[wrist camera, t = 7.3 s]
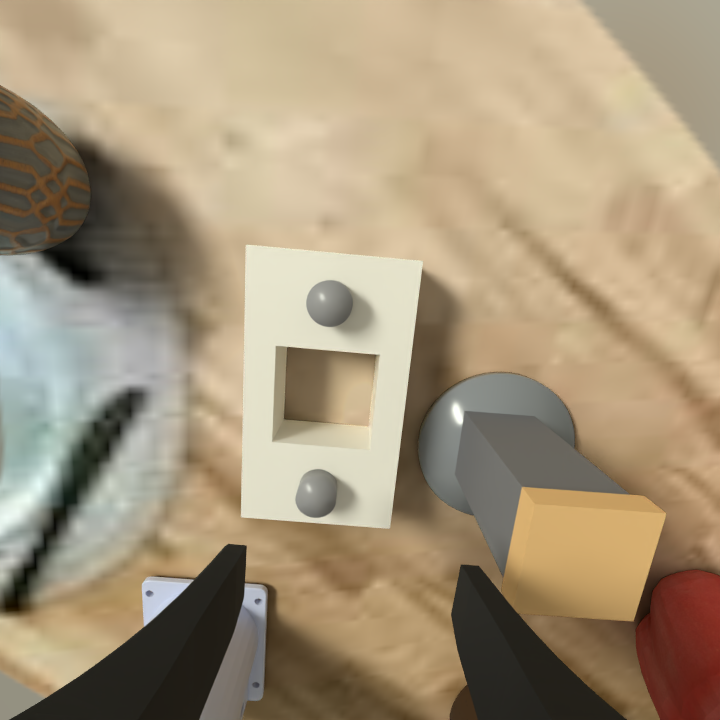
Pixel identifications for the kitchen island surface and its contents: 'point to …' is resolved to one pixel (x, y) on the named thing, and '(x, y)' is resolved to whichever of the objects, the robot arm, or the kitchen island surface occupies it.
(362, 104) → the kitchen island surface
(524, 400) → the coaster
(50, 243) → the vase
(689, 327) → the kitchen island surface
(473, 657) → the robot arm
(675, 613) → the vegetable
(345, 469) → the switch plate
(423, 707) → the kitchen island surface
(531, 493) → the plug
